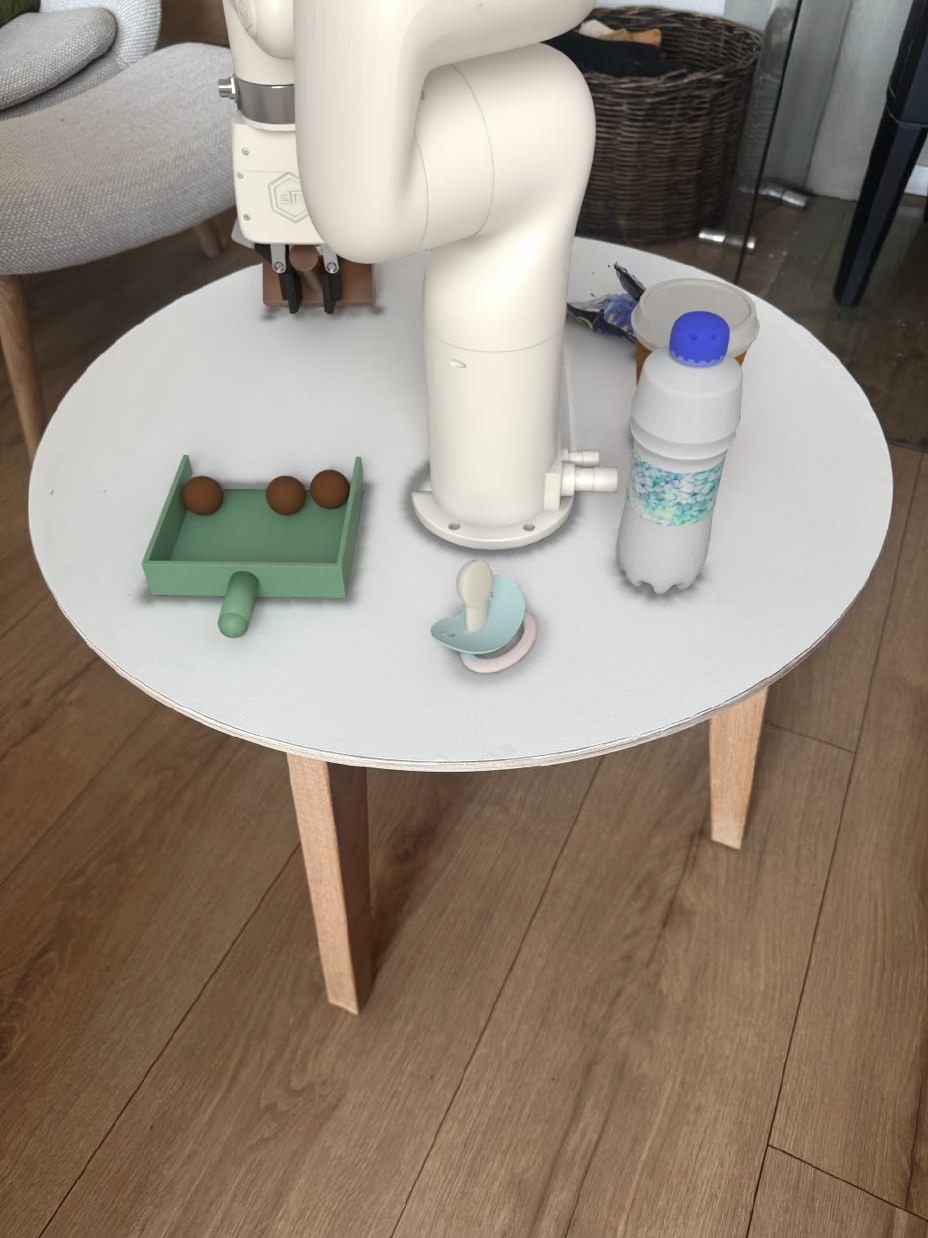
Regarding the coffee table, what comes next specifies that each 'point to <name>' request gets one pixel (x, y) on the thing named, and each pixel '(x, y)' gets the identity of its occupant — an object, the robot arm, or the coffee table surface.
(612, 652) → the coffee table surface
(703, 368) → the bottle
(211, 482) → the crumb
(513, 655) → the pacifier
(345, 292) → the brush
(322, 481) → the crumb
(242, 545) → the dustpan
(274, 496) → the crumb
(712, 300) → the disposable coffee cup
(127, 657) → the coffee table surface
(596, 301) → the snack package
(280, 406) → the coffee table surface
